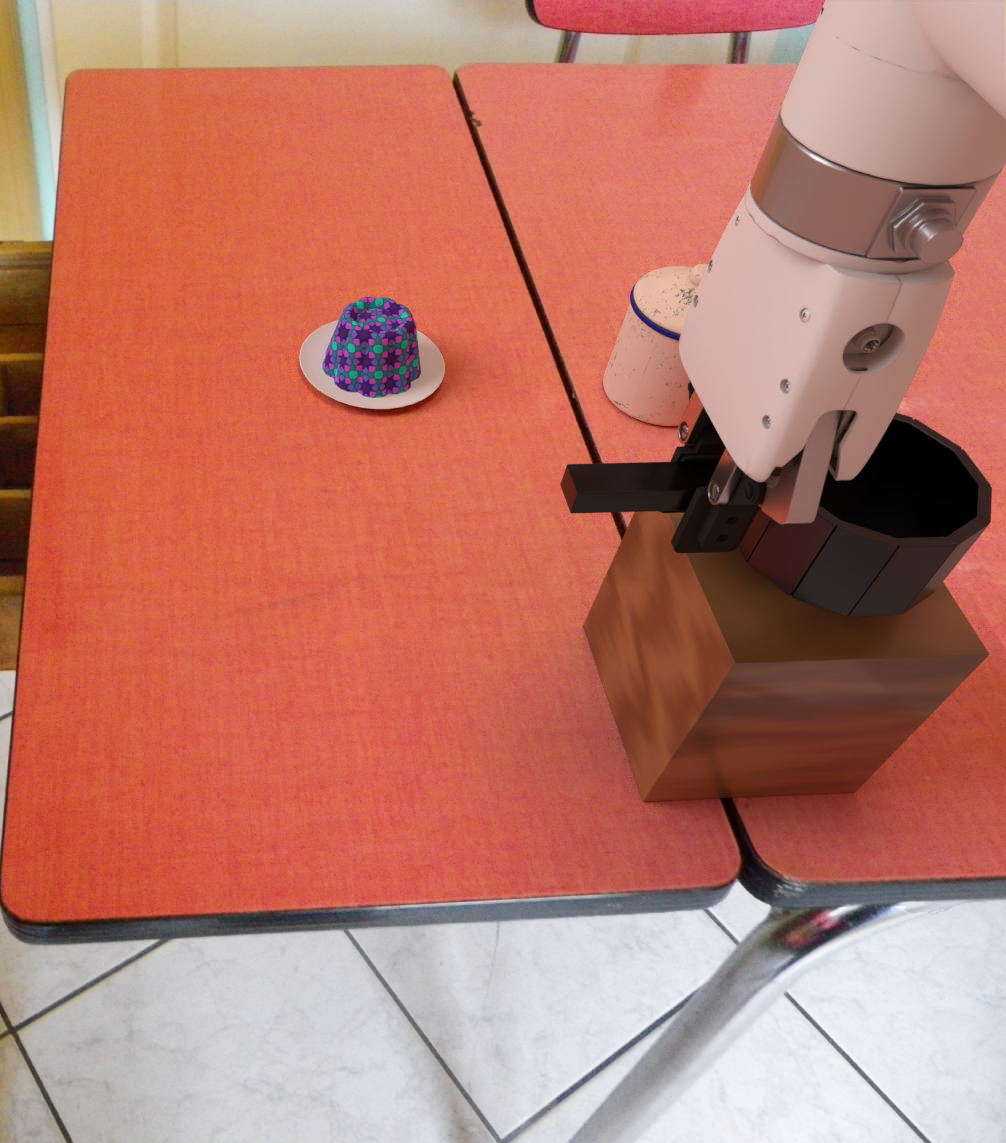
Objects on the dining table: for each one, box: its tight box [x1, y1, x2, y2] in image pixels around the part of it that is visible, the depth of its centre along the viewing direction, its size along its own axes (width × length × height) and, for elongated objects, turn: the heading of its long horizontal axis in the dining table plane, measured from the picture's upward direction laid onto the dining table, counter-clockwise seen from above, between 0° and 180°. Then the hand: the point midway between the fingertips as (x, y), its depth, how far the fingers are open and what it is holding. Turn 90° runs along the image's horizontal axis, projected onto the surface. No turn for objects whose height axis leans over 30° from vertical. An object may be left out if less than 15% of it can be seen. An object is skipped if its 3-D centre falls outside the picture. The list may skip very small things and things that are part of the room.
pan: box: [559, 412, 993, 617], centre depth 51 cm, size 20×10×5 cm, turn 93°
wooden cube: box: [582, 511, 990, 803], centre depth 61 cm, size 13×13×14 cm
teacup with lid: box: [602, 263, 709, 427], centre depth 82 cm, size 12×9×12 cm
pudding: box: [298, 296, 446, 410], centre depth 85 cm, size 12×12×5 cm
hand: (693, 525), depth 52 cm, fingers closed on pan
